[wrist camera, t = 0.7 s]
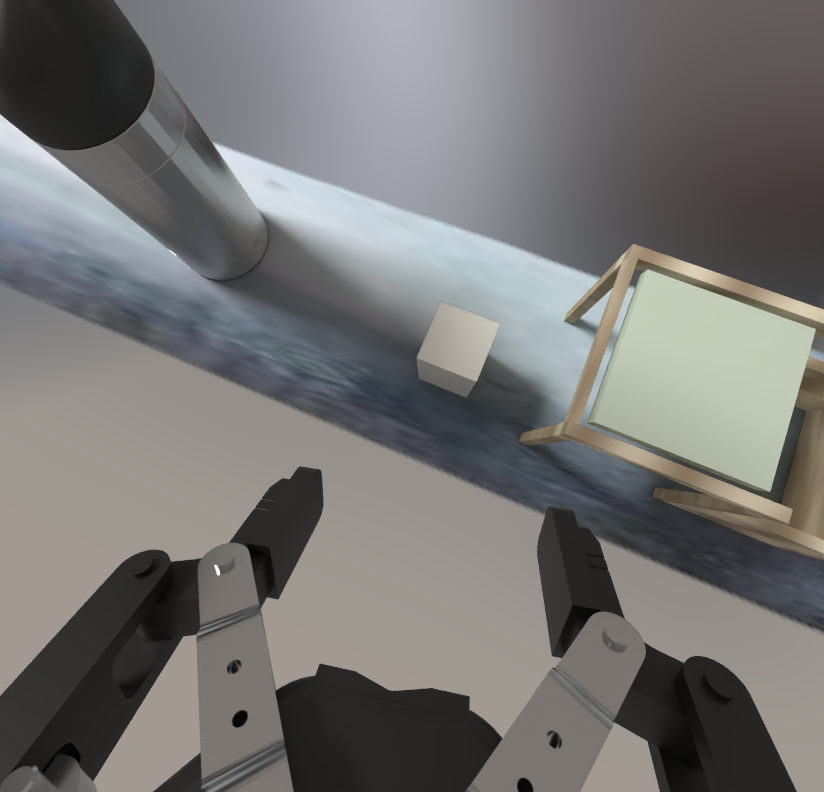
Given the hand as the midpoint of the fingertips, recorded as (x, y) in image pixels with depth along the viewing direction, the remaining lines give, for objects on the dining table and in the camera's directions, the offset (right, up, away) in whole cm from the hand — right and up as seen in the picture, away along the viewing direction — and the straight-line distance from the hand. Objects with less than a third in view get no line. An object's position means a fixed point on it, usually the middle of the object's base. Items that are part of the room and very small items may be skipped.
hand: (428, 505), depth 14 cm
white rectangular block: (+3, +7, +24) cm, 26 cm away
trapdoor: (+18, +5, +12) cm, 22 cm away
